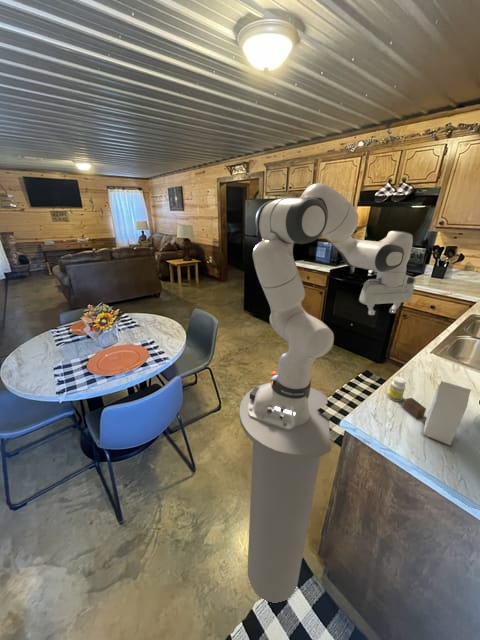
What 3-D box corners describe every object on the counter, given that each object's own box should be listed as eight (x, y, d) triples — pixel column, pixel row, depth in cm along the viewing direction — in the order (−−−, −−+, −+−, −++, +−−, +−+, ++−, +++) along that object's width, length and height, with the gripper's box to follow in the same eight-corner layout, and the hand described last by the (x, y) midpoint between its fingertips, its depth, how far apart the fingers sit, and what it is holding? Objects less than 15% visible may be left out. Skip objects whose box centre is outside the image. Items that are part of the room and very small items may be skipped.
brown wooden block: (423, 417, 92) (426, 408, 91) (416, 419, 92) (419, 410, 90) (409, 406, 98) (412, 397, 96) (402, 407, 97) (405, 398, 95)
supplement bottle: (391, 392, 105) (396, 374, 102) (404, 398, 102) (409, 380, 99) (385, 396, 103) (390, 378, 100) (397, 403, 99) (403, 384, 96)
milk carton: (450, 446, 81) (471, 396, 74) (423, 434, 85) (440, 386, 78) (450, 432, 86) (470, 384, 79) (424, 422, 90) (441, 375, 83)
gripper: (371, 281, 90) (363, 318, 95) (420, 278, 94) (410, 314, 99) (359, 277, 95) (352, 312, 101) (406, 275, 100) (397, 309, 105)
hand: (381, 313), depth 100 cm, fingers open, 8 cm apart
